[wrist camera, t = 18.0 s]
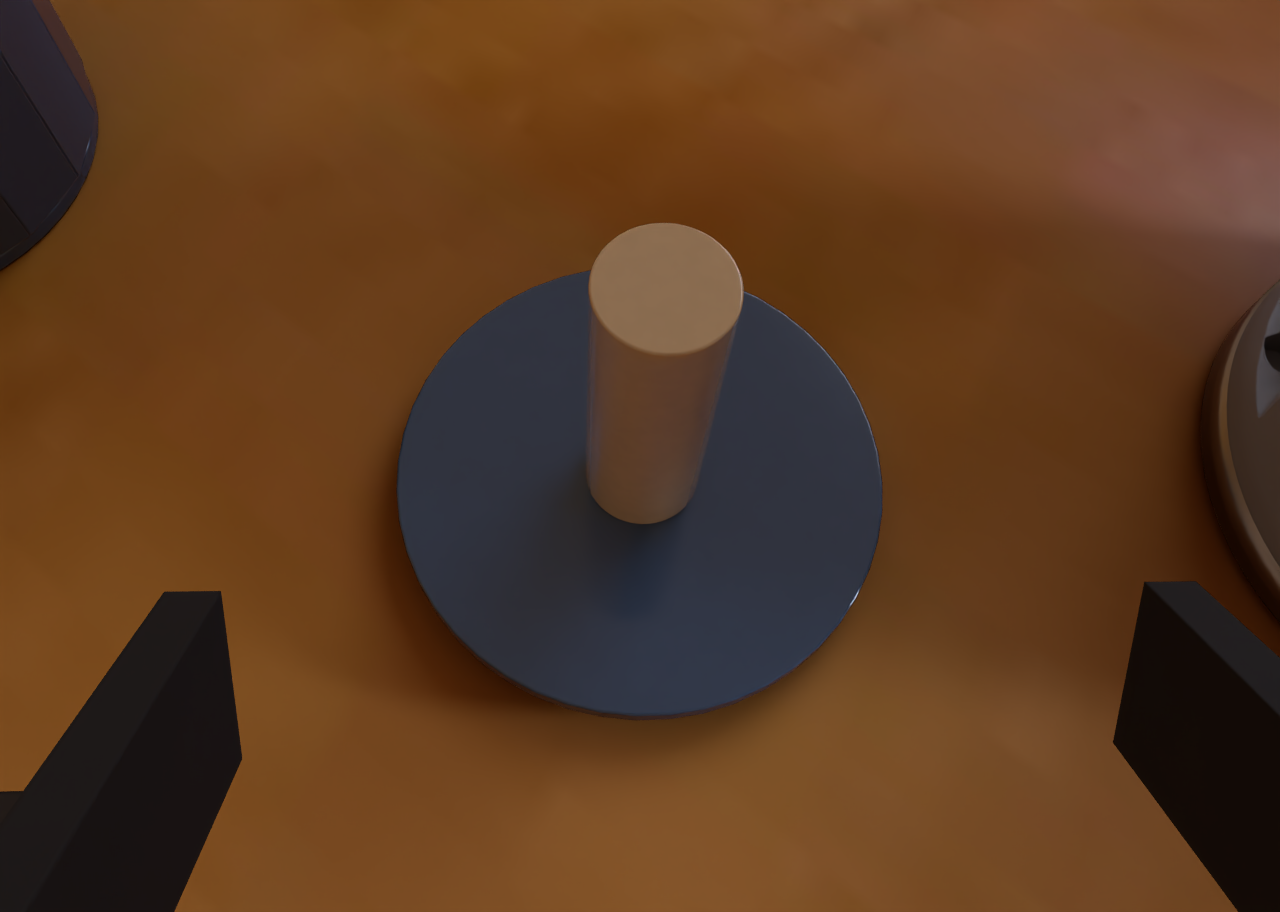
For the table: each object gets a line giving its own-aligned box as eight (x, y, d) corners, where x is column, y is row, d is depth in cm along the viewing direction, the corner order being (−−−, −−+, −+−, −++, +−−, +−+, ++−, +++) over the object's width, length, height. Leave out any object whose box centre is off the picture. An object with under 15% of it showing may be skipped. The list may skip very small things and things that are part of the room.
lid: (760, 238, 35) (827, -27, 26) (953, 623, 30) (1122, 470, 21) (347, 363, 32) (254, 119, 23) (488, 802, 28) (444, 719, 18)
